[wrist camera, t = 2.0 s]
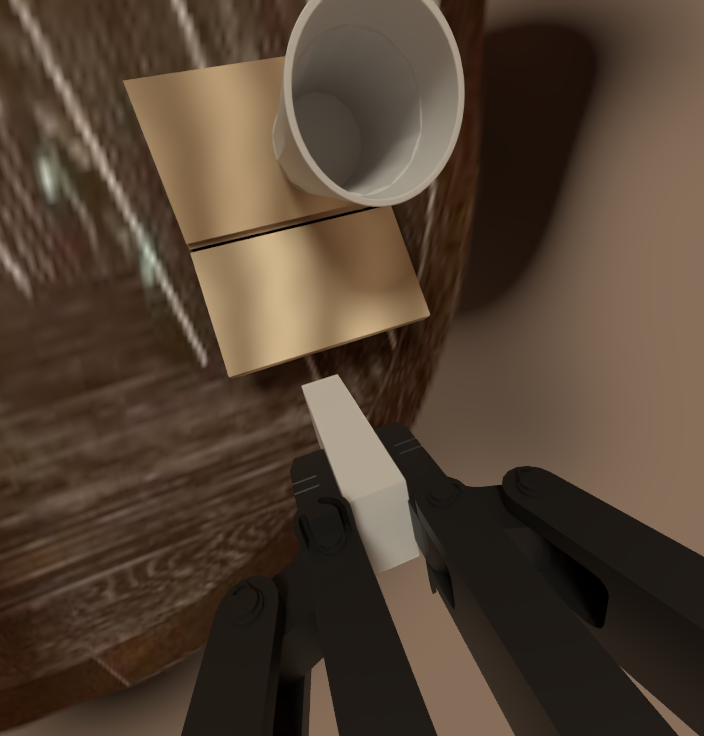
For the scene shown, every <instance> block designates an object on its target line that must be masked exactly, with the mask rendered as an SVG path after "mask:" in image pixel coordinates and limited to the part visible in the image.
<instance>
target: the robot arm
mask: <svg viewBox="0 0 704 736" xmlns="http://www.w3.org/2000/svg"><path fill="white" fill-rule="evenodd" d="M302 389H303V393H304V396H305V399H306V403H307V406H308V409H309V412H310V416H311V419H312V422H313V425H314V429H315V432H316V435H317V438H318V442H319V444H320V447H321V450H318V451H315V452H313V453H310V454H307V455H304V456H301V457H298V458H296V459H294V461H293V464H292V467H291V470H290V475H291V479H292V484H293V489H294V494H295V499H296V504H297V509H298V511H297V513H296V514H295V516H294V523H293V528H294V530H295V533H296V535H297V538H298V541H299V543H300V546H301V548H300V550H299V552H298V554H297V556H296V557H295V558H294V560H293V561H292V562H291V563H290V564H289V565H288V566H287V567H286V568H285V569H283V570H282V571H281V572H279V573H278V574H277V575H276V576H274V577H273V578H272V579H268V578H267V577H265V576H252V577H249V578H247V579H244V580H241V581H240V582H239V583H237V584H236V585H235V586H233V587H232V588H231V589H230V590H229V591H228V592H227V593H226V595H225V596H224V597H223V598H222V600H221V602H220V604H219V606H218V608H217V611H216V613H215V616H214V620H213V623H212V627H211V630H210V634H209V638H208V641H207V645H206V648H205V652H204V655H203V659H202V663H201V666H200V670H199V673H198V677H197V680H196V684H195V687H194V691H193V695H192V698H191V702H190V705H189V709H188V713H187V716H186V720H185V723H184V727H183V731H182V734H181V736H309V713H310V689H311V688H310V687H311V669H312V668H313V667H314V666H315V665H316V664H317V663H318V662H319V661H320V660H321V659H322V658H323V657H324V661H325V666H326V671H327V676H328V681H329V686H330V691H331V696H332V701H333V706H334V711H335V717H336V722H337V726H338V732H339V736H437V734H436V731H435V729H434V726H433V723H432V721H431V719H430V716H429V713H428V710H427V708H426V705H425V703H424V700H423V697H422V695H421V693H420V690H419V687H418V685H417V682H416V679H415V677H414V674H413V672H412V669H411V667H410V664H409V661H408V659H407V656H406V654H405V651H404V649H403V646H402V643H401V641H400V638H399V636H398V633H397V630H396V628H395V625H394V623H393V620H392V617H391V615H390V612H389V610H388V607H387V605H386V603H385V599H384V597H383V595H382V592H381V589H380V587H379V584H378V581H377V579H376V577H375V575H377V574H379V573H382V572H384V571H386V570H389V569H391V568H393V567H395V566H398V565H400V564H402V563H405V562H407V561H409V560H412V559H414V558H416V557H419V550H418V546H419V548H420V550H421V551H422V553H423V555H424V557H425V559H426V564H427V570H428V576H429V581H430V586H431V589H432V593H433V594H434V593H436V588H437V590H438V592H439V594H440V596H441V598H442V599H443V601H444V603H445V605H446V607H447V609H448V611H449V613H450V614H451V616H452V618H453V620H454V622H455V624H456V626H457V627H458V630H459V631H460V633H461V635H462V637H463V639H464V641H465V643H466V644H467V646H468V648H469V650H470V652H471V654H472V656H473V658H474V659H475V661H476V663H477V665H478V667H479V669H480V671H481V673H482V674H483V676H484V678H485V680H486V682H487V684H488V686H489V688H490V689H491V691H492V693H493V695H494V697H495V699H496V701H497V703H498V704H499V706H500V708H501V710H502V712H503V714H504V716H505V718H506V719H507V721H508V723H509V725H510V727H511V729H512V731H513V732H514V734H515V736H678V735H677V733H676V732H675V731H674V730H673V729H672V728H671V726H670V725H669V724H668V723H667V722H666V721H665V719H664V718H663V717H662V716H661V715H660V714H659V712H658V711H657V710H656V709H655V708H654V706H653V705H652V704H651V703H650V702H649V701H648V699H647V698H646V697H645V696H644V695H643V694H642V692H641V691H640V690H639V689H638V688H637V687H636V685H635V684H634V683H633V682H632V681H631V679H630V678H629V677H628V676H627V675H626V674H625V672H624V671H623V670H622V669H621V668H623V669H624V670H625V671H626V672H627V673H628V674H629V675H631V676H632V677H633V678H634V679H635V680H636V681H637V682H639V683H640V684H641V685H642V686H643V687H644V688H645V689H647V690H648V691H649V692H650V693H651V694H652V695H653V696H655V697H656V698H657V699H658V700H659V701H660V702H661V703H663V704H664V705H665V706H666V707H667V708H668V709H669V710H671V711H672V712H673V713H674V714H675V715H677V717H679V718H680V719H681V720H682V721H683V722H684V723H685V724H687V725H688V726H689V727H690V728H691V729H692V730H693V731H695V732H696V733H697V734H698V735H699V736H704V557H703V556H701V555H700V554H698V553H696V552H694V551H692V550H691V549H689V548H687V547H685V546H683V545H682V544H680V543H678V542H676V541H674V540H672V539H671V538H669V537H667V536H665V535H663V534H662V533H660V532H658V531H656V530H654V529H653V528H651V527H649V526H647V525H645V524H643V523H641V522H640V521H638V520H636V519H634V518H633V517H631V516H629V515H627V514H625V513H623V512H622V511H620V510H618V509H616V508H614V507H613V506H611V505H609V504H607V503H605V502H604V501H602V500H600V499H598V498H596V497H595V496H593V495H591V494H589V493H587V492H585V491H584V490H582V489H580V488H578V487H576V486H574V485H573V484H571V483H569V482H567V481H566V480H564V479H562V478H560V477H558V476H557V475H555V474H553V473H551V472H549V471H546V470H544V469H541V468H538V467H531V466H523V467H516V468H514V469H512V470H510V471H508V472H507V473H506V475H505V476H504V477H503V481H502V485H495V486H486V487H469V486H465V485H464V484H462V483H461V482H460V481H459V480H457V479H454V478H451V477H447V476H446V475H445V474H444V472H443V471H442V470H441V469H440V467H439V466H438V465H437V464H436V462H435V461H434V460H433V459H432V458H431V456H430V455H429V454H428V453H427V451H426V450H425V449H424V448H423V447H422V446H421V444H420V443H419V442H418V440H417V439H415V437H414V435H413V434H412V433H411V432H410V431H409V429H408V428H407V427H405V426H402V425H400V424H398V423H396V422H394V423H391V424H388V425H385V426H383V427H380V428H377V429H374V430H373V429H372V427H371V426H370V424H369V422H368V421H367V419H366V418H365V416H364V415H363V413H362V412H361V410H360V408H359V407H358V405H357V404H356V402H355V401H354V399H353V398H352V396H351V394H350V393H349V391H348V390H347V388H346V387H345V385H344V384H343V382H342V380H341V379H340V377H339V376H338V374H337V375H333V376H330V377H327V378H324V379H321V380H318V381H315V382H312V383H308V384H305V385H302ZM620 667H621V668H620Z"/></svg>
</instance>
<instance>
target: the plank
mask: <svg viewBox="0 0 704 736" xmlns="http://www.w3.org/2000/svg"><path fill="white" fill-rule="evenodd" d="M191 257H192V260H193V263H194V266H195V269H196V273H197V276H198V279H199V282H200V285H201V289H202V292H203V295H204V298H205V301H206V305H207V308H208V311H209V314H210V318H211V321H212V324H213V327H214V330H215V334H216V337H217V340H218V343H219V346H220V350H221V353H222V356H223V359H224V362H225V366H226V369H227V372H228V375H229V377H230V378H232V379H234V378H237V377H240V376H243V375H247V374H250V373H253V372H256V371H259V370H263V369H266V368H269V367H272V366H276V365H279V364H282V363H285V362H288V361H292V360H295V359H298V358H301V357H305V356H308V355H311V354H314V353H318V352H321V351H324V350H327V349H330V348H334V347H337V346H340V345H343V344H347V343H350V342H353V341H356V340H360V339H363V338H366V337H369V336H372V335H376V334H379V333H382V332H385V331H389V330H392V329H395V328H398V327H401V326H405V325H408V324H411V323H414V322H418V321H421V320H424V319H426V318H427V317H428V316H430V313H429V310H428V307H427V305H426V302H425V299H424V296H423V294H422V291H421V288H420V285H419V282H418V280H417V277H416V274H415V271H414V268H413V266H412V263H411V260H410V257H409V254H408V252H407V249H406V246H405V243H404V241H403V238H402V235H401V232H400V229H399V227H398V224H397V221H396V218H395V215H394V213H393V210H392V207H391V206H386V207H379V208H375V209H371V210H367V211H363V212H359V213H355V214H350V215H346V216H342V217H338V218H334V219H330V220H325V221H321V222H317V223H313V224H309V225H305V226H301V227H296V228H292V229H288V230H284V231H280V232H276V233H271V234H267V235H263V236H259V237H255V238H251V239H246V240H242V241H238V242H234V243H230V244H226V245H222V246H217V247H213V248H209V249H205V250H201V251H197V252H192V253H191Z"/></svg>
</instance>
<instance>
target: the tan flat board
mask: <svg viewBox="0 0 704 736" xmlns="http://www.w3.org/2000/svg"><path fill="white" fill-rule="evenodd" d="M285 57H286V56H284V57H278V58H271V59H264V60H258V61H251V62H244V63H238V64H231V65H224V66H218V67H211V68H204V69H197V70H191V71H184V72H177V73H171V74H164V75H157V76H151V77H144V78H137V79H131V80H124V81H123V82H124V85H125V87H126V90H127V92H128V95H129V98H130V100H131V103H132V105H133V108H134V110H135V113H136V116H137V118H138V121H139V123H140V126H141V128H142V131H143V134H144V136H145V139H146V141H147V144H148V146H149V149H150V152H151V154H152V157H153V159H154V162H155V164H156V167H157V169H158V172H159V175H160V177H161V180H162V182H163V185H164V187H165V190H166V193H167V195H168V198H169V200H170V203H171V205H172V208H173V211H174V213H175V216H176V218H177V221H178V223H179V226H180V229H181V231H182V234H183V236H184V239H185V241H186V244H187V245H188V247H189V250H191V249H195V248H199V247H204V246H208V245H212V244H216V243H220V242H224V241H229V240H233V239H237V238H241V237H245V236H250V235H254V234H258V233H262V232H266V231H271V230H275V229H279V228H283V227H287V226H291V225H296V224H300V223H304V222H308V221H312V220H317V219H321V218H325V217H329V216H333V215H337V214H342V213H346V212H350V211H354V210H358V209H363V208H367V207H370V206H364V205H360V204H355V203H351V202H347V201H343V200H339V199H336V198H332V197H326V196H315V195H311V194H308V193H305V192H303V191H301V190H300V189H298V188H297V187H295V186H294V185H293V184H292V183H291V182H290V181H289V180H288V179H287V178H286V176H285V175H284V174H283V172H282V170H281V169H280V167H279V165H278V162H277V160H276V157H275V154H274V149H273V140H272V135H273V126H274V121H275V118H276V115H277V113H278V109H279V104H280V92H281V84H282V78H283V71H284V64H285Z"/></svg>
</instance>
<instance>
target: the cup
mask: <svg viewBox="0 0 704 736" xmlns="http://www.w3.org/2000/svg"><path fill="white" fill-rule="evenodd" d="M463 109H464V77H463V69H462V64H461V59H460V55H459V51H458V48H457V44H456V42H455V39H454V36H453V34H452V31H451V29H450V27H449V25H448V23H447V21H446V20H445V18H444V16H443V15H442V13H441V11H440V10H439V9H438V7H437V6H436V5H435V3H434V2H433V1H432V0H310V1H309V2H308V3H307V5H306V6H305V8H304V9H303V11H302V12H301V14H300V16H299V18H298V20H297V22H296V24H295V26H294V29H293V31H292V34H291V37H290V40H289V44H288V47H287V52H286V57H285V64H284V71H283V78H282V84H281V92H280V104H279V109H278V113H277V115H276V118H275V121H274V126H273V135H272V140H273V149H274V154H275V157H276V160H277V162H278V165H279V167H280V169H281V170H282V172H283V174H284V175H285V176H286V178H287V179H288V180H289V181H290V182H291V183H292V184H293V185H294V186H295V187H297V188H298V189H300V190H301V191H303V192H305V193H308V194H311V195H315V196H326V197H332V198H336V199H339V200H343V201H347V202H351V203H355V204H360V205H364V206H370V207H386V206H392V205H396V204H399V203H402V202H405V201H407V200H409V199H411V198H413V197H415V196H416V195H418V194H419V193H421V192H422V191H423V190H424V189H426V188H427V187H428V186H429V185H430V184H431V183H432V182H433V181H434V180H435V179H436V177H437V176H438V175H439V174H440V172H441V171H442V169H443V168H444V166H445V165H446V163H447V161H448V160H449V158H450V156H451V154H452V151H453V149H454V147H455V144H456V141H457V138H458V135H459V131H460V127H461V123H462V117H463Z"/></svg>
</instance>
